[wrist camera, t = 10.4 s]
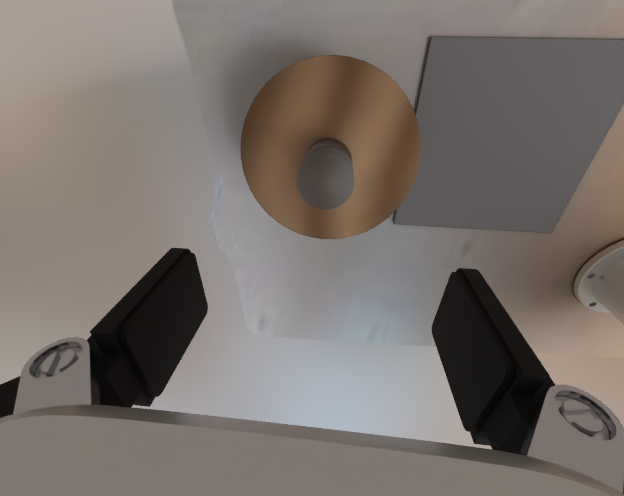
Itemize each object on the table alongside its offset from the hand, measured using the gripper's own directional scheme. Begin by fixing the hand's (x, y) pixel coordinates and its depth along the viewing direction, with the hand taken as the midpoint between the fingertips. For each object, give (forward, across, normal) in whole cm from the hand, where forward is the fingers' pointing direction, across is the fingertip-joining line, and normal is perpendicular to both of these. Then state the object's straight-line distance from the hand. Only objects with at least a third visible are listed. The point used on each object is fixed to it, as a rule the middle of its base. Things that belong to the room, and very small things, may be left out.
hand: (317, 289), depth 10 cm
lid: (+17, 0, 0) cm, 17 cm away
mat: (+25, -18, 0) cm, 30 cm away
